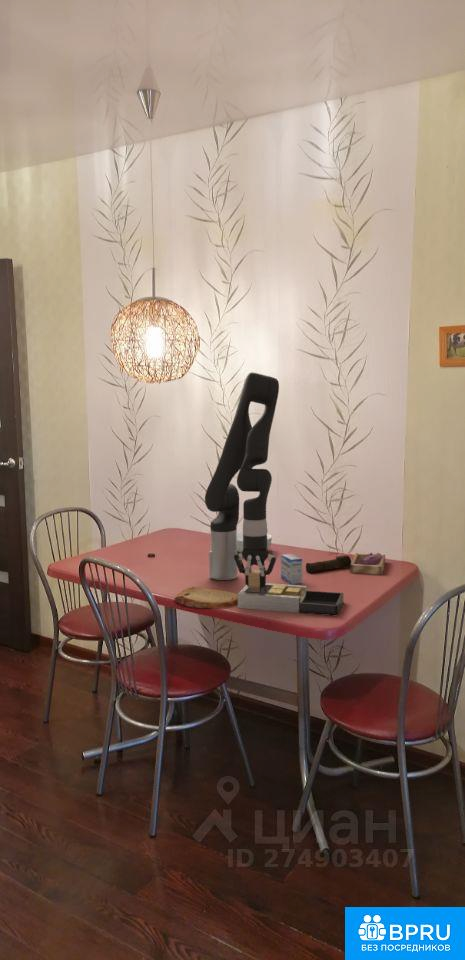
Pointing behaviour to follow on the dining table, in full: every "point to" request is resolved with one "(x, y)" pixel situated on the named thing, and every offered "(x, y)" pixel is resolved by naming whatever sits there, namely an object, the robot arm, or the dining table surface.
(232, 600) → the slice of bread
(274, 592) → the tan wood block
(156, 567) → the dining table surface
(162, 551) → the dining table surface
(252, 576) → the beige and grey block
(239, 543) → the cereal bowl
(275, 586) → the khaki small block
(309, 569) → the hand tool
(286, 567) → the medicine box
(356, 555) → the light wood shallow tray
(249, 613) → the dining table surface
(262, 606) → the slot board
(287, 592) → the tan square block
